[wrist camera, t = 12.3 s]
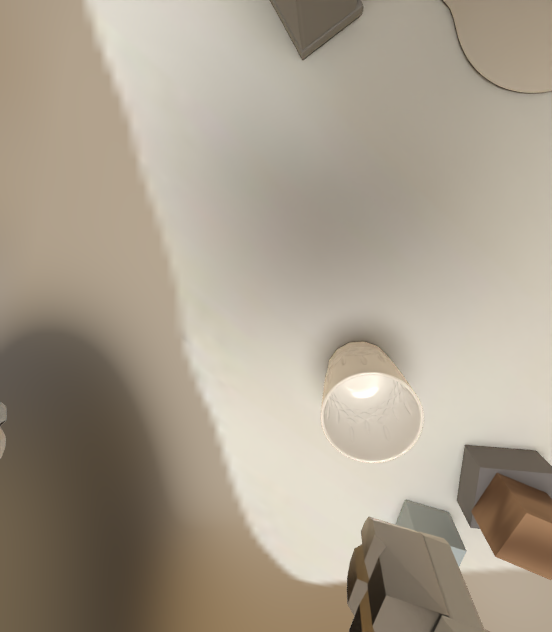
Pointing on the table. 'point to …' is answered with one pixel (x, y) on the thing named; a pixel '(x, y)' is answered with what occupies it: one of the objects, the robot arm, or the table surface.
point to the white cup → (369, 405)
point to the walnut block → (517, 524)
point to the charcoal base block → (508, 462)
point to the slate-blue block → (432, 525)
